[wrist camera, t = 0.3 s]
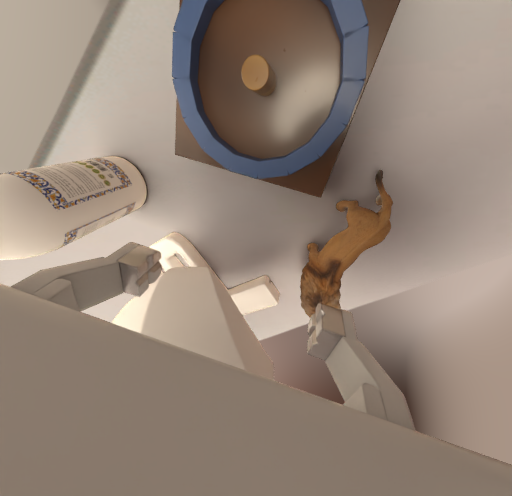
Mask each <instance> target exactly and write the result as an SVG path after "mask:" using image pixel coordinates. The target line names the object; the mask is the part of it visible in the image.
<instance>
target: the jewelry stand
mask: <svg viewBox="0 0 512 496" xmlns="http://www.w3.org/2000/svg"><path fill="white" fill-rule="evenodd" d="M149 248H152V249H155V250H158V251H160V252H161V259H160V260H159V262H160V263H161V265H162V267H163V268H164V270H165V271H166V272H163V271H162V270H161V274H160V276H159V277H158V279H157V280H156V281H155V282H154V283H151V284H150V285H149V288H148V289H147V290H146V291H145V292H144V293H143V294H142V295H141V296H140V297H138V296H135V297H134V298H133V299H132V300H130V301H129V302H128V303H127V304H126V305H125V306H124V307H123V309H122V310H121V311H120V312H119V313H118V315H117V316H116V317H115V319H114V320H113V321H112V322H111V323H113V324H116V325H119V326H122V327H124V328H127V329H130V330H133V331H136V332H138V333H141V334H144V335H147V336H150V337H153V338H155V339H158V340H161V341H164V342H167V343H169V344H172V345H175V346H178V347H181V348H183V349H186V350H189V351H192V352H195V353H197V354H200V355H203V356H206V357H209V358H212V359H214V360H217V361H220V362H223V363H226V364H228V365H231V366H234V367H237V368H240V369H243V370H245V371H248V372H251V373H254V374H257V375H260V376H262V377H265V378H268V379H271V380H274V364H273V362H272V360H271V358H270V357H269V356H268V354H267V353H266V351H265V350H264V348H263V347H262V346H261V344H260V342H259V341H258V339H257V338H256V336H255V335H254V333H253V331H252V330H251V328H250V327H249V325H248V324H247V322H246V321H245V319H244V317H243V315H245V314H249V313H252V312H255V311H258V310H261V309H265V308H268V307H271V306H274V305H277V304H278V301H279V296H280V293H279V292H278V290H277V289H276V287H275V286H274V284H273V283H272V281H270V282H269V280H270V279H269V277H268V276H266V275H264V276H262V277H259V278H257V279H254V280H251V281H249V282H246V283H244V284H241V285H238V286H236V287H233V288H231V289H227V288H226V286H225V285H224V284H223V283H222V281H221V280H220V279H219V278H218V276H217V275H216V274H215V272H214V271H213V270H212V269H211V267H210V266H209V265H208V264H207V262H206V261H205V260H204V259H203V257H202V256H201V255H200V254H199V252H198V251H197V250H196V249H195V247H194V246H193V245H192V243H191V242H190V241H188V240H187V239H186V238H185V237H184V236H182V235H181V234H179V233H176V232H172V233H171V234H169V235H167V236H166V237H164V238H163V239H161V240H159V241H158V242H156V243H154V244H153V245H151V246H150V247H149ZM176 253H179V254H180V255H181V256H182V257H183V259H184V260H185V261H186V262H187V263H188V264H189V266H190V267H184V266H183V264H182V263H181V262H180V261H179V259H178V258H177V257H176V255H175V254H176Z"/></svg>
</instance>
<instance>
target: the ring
mask: <svg viewBox="0 0 512 496" xmlns="http://www.w3.org/2000/svg"><path fill="white" fill-rule="evenodd" d="M223 1H224V0H183V1H182V4H181V7H180V10H179V13H178V16H177V19H176V23H175V26H174V30H175V31H176V32H173V56H172V77H173V78H175V79H173V83H174V87H175V91H176V95H177V98H178V102H179V106H180V109H181V113H182V117H183V118H185V119H184V121H185V123H186V125H187V126H188V128H189V129H190V131H191V133H192V134H193V136H194V137H195V139H196V140H197V142H198V144H199V145H200V147H201V148H202V149H204V150H203V151H204V152H206V153H207V154H208V155H209V156H211V157H212V158H213V159H214V160H216V161H217V162H218V163H219V164H221V165H222V166H223V167H224V168H226V169H227V170H228V169H229V171H232V172H235V173H238V174H242V175H245V176H248V177H252V178H255V179H257V178H259V179H264V178H272V177H280V176H288V175H289V174H290V175H291V174H293V173H294V172H296V171H298V170H300V169H302V168H303V167H305V166H307V165H309V164H310V163H312V162H314V161H316V160H317V159H319V156H320V157H321V156H322V155H323V154H324V153H325V152H326V151H327V149H328V148H329V147H330V146H331V145H332V143H333V142H334V141H335V140H336V139H337V138H338V136H339V135H340V134H341V133H342V132H343V130H344V129H345V128H346V125H348V123H349V120H350V118H351V115H352V113H353V110H354V108H355V105H356V103H357V100H358V98H359V95H360V93H361V90H362V88H363V85H364V83H365V81H364V79H366V67H367V51H368V34H369V26H367V24H368V19H367V16H366V13H365V10H364V6H363V3H362V0H321V1H322V2H323V3H324V4H325V5H326V6H327V7H328V9H329V12H330V14H331V17H332V20H333V23H334V26H335V29H336V31H337V34H338V37H339V40H340V43H341V64H340V85H339V88H338V91H337V93H336V96H335V99H334V102H333V105H332V108H331V110H330V113H329V116H328V118H327V119H326V120H325V122H324V123H323V124H322V125H321V127H320V128H319V129H318V130H317V132H316V133H315V134H314V136H313V137H312V138H311V139H310V141H309V142H307V143H306V144H304V145H302V146H301V147H299V148H297V149H296V150H294V151H292V152H291V153H289V154H288V155H286V156H280V157H273V158H266V159H260V158H256V157H253V156H249V155H246V154H242V153H239V152H237V151H236V150H235V149H234V148H233V147H231V146H230V145H229V144H228V143H226V142H225V141H224V140H223V139H222V138H220V137H219V136H218V134H217V132H216V131H215V129H214V127H213V125H212V124H211V122H210V120H209V119H208V117H207V115H206V114H205V112H204V108H203V103H202V99H201V94H200V90H199V86H198V67H199V53H200V45H201V43H202V40H203V38H204V35H205V33H206V30H207V28H208V25H209V23H210V20H211V18H212V15H213V13H214V11H215V10H216V9H217V8H218V7H219V6H220V5H221V3H222V2H223Z"/></svg>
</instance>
